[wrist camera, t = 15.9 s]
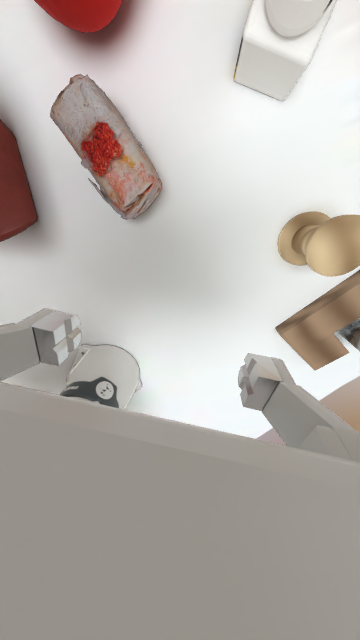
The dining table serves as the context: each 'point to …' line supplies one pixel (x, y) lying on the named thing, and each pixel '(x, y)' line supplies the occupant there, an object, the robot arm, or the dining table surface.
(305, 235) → the tan spool
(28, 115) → the dining table surface
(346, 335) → the gold lidded spice jar
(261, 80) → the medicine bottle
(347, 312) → the notch board
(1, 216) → the plant pot
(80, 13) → the ceramic cup
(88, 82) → the food item
